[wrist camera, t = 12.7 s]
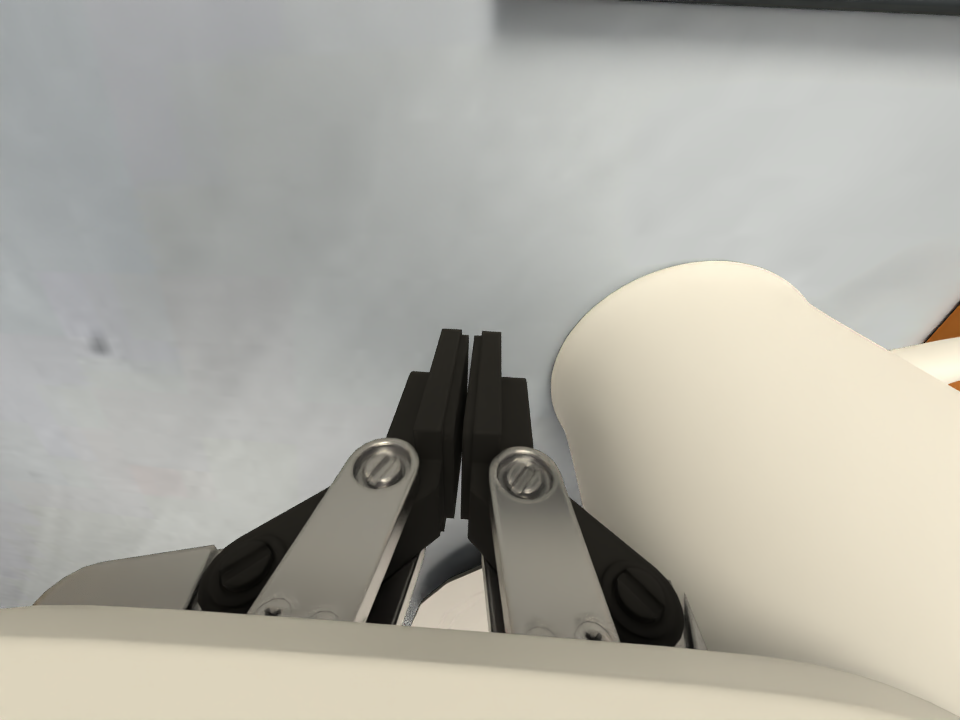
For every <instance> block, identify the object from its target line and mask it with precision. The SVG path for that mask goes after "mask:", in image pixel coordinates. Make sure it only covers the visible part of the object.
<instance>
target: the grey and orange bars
mask: <svg viewBox="0 0 960 720" xmlns="http://www.w3.org/2000/svg"><path fill="white" fill-rule="evenodd" d="M633 1H655V2H677V3H698V4H720V5H741V6H763V7H784V8H806V9H828V10H849V11H871V12H892V13H914V14H936V15H957V16H960V0H633ZM956 337H960V305H959V306H958V307H957V308H956V309H955V310H954V311H953V312H952V314H951V315H950V316H949V317H948V318H947V319H946V320H945V321H944V322H943V324H942V325H941V326H940V327H939V328H938V329H937V330H936V331H935V332H934V334H933V335H932V336H931V337H930V338H929V339H928V340H927V341H926V343H928V342H933V341H938V340H944V339H950V338H956ZM948 385H949V386H951V387H953V388H954V389H956V390H958V391H960V381H956V382H953V383H950V384H948Z"/></svg>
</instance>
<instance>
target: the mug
mask: <svg viewBox="0 0 960 720" xmlns="http://www.w3.org/2000/svg"><path fill="white" fill-rule="evenodd" d="M956 381H960V337H956V338H950V339H944V340H938V341H933V342H928V343H923V344H918V345H913V346H908V347H903V348H898V349H893V350H887V349H885V348H883V347H881V346H880V345H878V344H876V343H874V342H873V341H871V340H869V339H867V338H866V337H864V336H862V335H860V334H859V333H857V332H855V331H854V330H852V329H850V328H848V327H847V326H845V325H843V324H842V323H840V322H838V321H837V320H835V319H833V318H831V317H830V316H828V315H827V314H825V313H823V312H822V311H820V310H818V309H817V308H815V307H814V306H812V305H811V304H810V303H808V302H807V300H806V299H805V298H804V296H803V295H802V294H801V293H800V292H799V291H798V290H797V289H796V288H795V287H794V286H793V285H791V284H790V283H789V282H787V281H786V280H784V279H783V278H781V277H780V276H778V275H776V274H774V273H772V272H770V271H768V270H765V269H762V268H760V267H756V266H753V265H749V264H744V263H738V262H730V261H702V262H693V263H687V264H681V265H677V266H673V267H669V268H665V269H662V270H659V271H656V272H653V273H651V274H648V275H645V276H643V277H641V278H639V279H636V280H634V281H632V282H630V283H628V284H627V285H625V286H623V287H621V288H620V289H618V290H616V291H615V292H613V293H612V294H610V295H609V296H607V297H606V298H605V299H603V300H602V301H601V302H599V303H598V304H597V305H596V306H595V307H593V308H592V309H591V310H590V311H589V312H588V313H587V314H586V315H585V316H584V317H583V318H582V319H581V320H580V321H579V322H578V324H577V325H576V326H575V327H574V328H573V330H572V331H571V332H570V334H569V335H568V337H567V338H566V340H565V342H564V343H563V345H562V347H561V349H560V351H559V353H558V356H557V358H556V361H555V364H554V368H553V372H552V378H551V397H552V403H553V407H554V410H555V413H556V416H557V418H558V420H559V422H560V424H561V425H562V427H563V429H564V431H565V434H566V437H567V441H568V444H569V449H570V453H571V457H572V461H573V465H574V470H575V474H576V478H577V483H578V487H579V492H580V496H581V500H582V505H583V509H584V510H586V511H587V512H588V513H589V514H590V515H592V516H593V517H594V518H595V519H597V520H598V521H599V522H600V523H602V524H603V525H604V526H605V527H606V528H608V529H609V530H610V531H611V532H613V533H614V534H615V535H616V536H617V537H619V538H620V539H621V540H622V541H624V542H625V543H626V544H627V545H628V546H630V547H631V548H632V549H633V550H635V551H636V552H637V553H638V554H639V555H641V556H642V557H643V558H644V559H646V560H647V561H648V562H649V563H651V564H652V565H653V566H654V567H655V568H656V569H657V570H658V571H659V572H660V573H661V574H662V575H663V576H664V577H665V578H666V579H667V580H670V581H671V583H672V586H673V588H674V590H675V592H676V593H677V595H678V598H679V600H680V603H681V606H682V608H683V614H684V592H685V595H686V597H687V600H688V602H689V605H690V607H691V609H692V612H693V614H694V617H695V619H696V622H697V624H698V627H699V629H700V632H701V634H702V636H703V639H704V641H705V644H706V646H707V649H708V651H717V652H727V653H737V654H747V655H757V656H766V657H772V658H779V659H785V660H792V661H798V662H805V663H811V664H817V665H821V666H825V667H829V668H833V669H837V670H841V671H846V672H850V673H854V674H858V675H861V676H864V677H867V678H870V679H873V680H876V681H879V682H882V683H885V684H888V685H890V686H893V687H895V688H898V689H900V690H903V691H905V692H907V693H910V694H912V695H915V696H917V697H919V698H922V699H924V700H927V701H929V702H931V703H933V704H935V705H937V706H939V707H941V708H943V709H945V710H947V711H949V712H951V713H953V714H955V715H957V716H959V717H960V391H958V390H956V389H954V388H953V387H951V386H949V385H948V384H950V383H953V382H956Z"/></svg>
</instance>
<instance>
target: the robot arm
mask: <svg viewBox="0 0 960 720" xmlns="http://www.w3.org/2000/svg"><path fill="white" fill-rule="evenodd" d="M468 349H469V335H462V330H458V329H442V331H441V335H440V338H439V342H438V345H437V348H436V352H435V355H434V359H433V362H432V366H431V369H430V372H417V371H412V372H411V373H410V375H409V377H408V380H407V383H406V386H405V388H404V391H403V394H402V396H401V399H400V402H399V404H398V407H397V410H396V413H395V415H394V418H393V421H392V423H391V426H390V429H389V432H388V434H387V437H386V438H381V439H375V440H373V441H370V442H368V443H365V444H364V445H362V446H361V447H359V448H358V449H357V450H355V452H354V453H353V454H352V455H351V456H350V457H349V459H348V460H347V462H346V463H345V465H344V466H343V468H342V469H341V471H340V472H339V474H338V475H337V477H336V478H335V480H334V481H333V483H332V484H331V486H330V487H328V488H326V489H325V490H323V491H321V492H319V493H318V494H316V495H314V496H312V497H311V498H309V499H307V500H305V501H303V502H302V503H300V504H298V505H296V506H295V507H293V508H291V509H289V510H288V511H286V512H284V513H282V514H280V515H279V516H277V517H275V518H273V519H272V520H270V521H268V522H266V523H264V524H263V525H261V526H259V527H257V528H256V529H254V530H252V531H250V532H249V533H247V534H245V535H243V536H241V537H240V538H238V539H237V540H235V541H234V542H232V543H231V544H229V545H228V546H227V547H225V548H224V549H218V550H217V548H216V547H215V546H214V545H209V546H203V547H196V548H190V549H183V550H176V551H170V552H163V553H157V554H150V555H144V556H137V557H131V558H124V559H118V560H111V561H105V562H100V563H96V564H93V565H89V566H86V567H83V568H81V569H79V570H77V571H75V572H73V573H72V574H70V575H68V576H66V577H64V578H63V579H61V580H60V581H59V582H57V583H56V584H55V585H53V586H52V587H51V588H49V589H48V590H47V591H45V592H44V593H43V595H42V596H41V597H40V598H39V599H38V600H37V601H36V602H35V603H34V604H33V605H32V606H25V607H14V608H3V609H0V720H960V717H959V716H957V715H955V714H953V713H951V712H949V711H947V710H945V709H943V708H941V707H939V706H937V705H935V704H933V703H931V702H929V701H927V700H924V699H922V698H919V697H917V696H915V695H912V694H910V693H907V692H905V691H903V690H900V689H898V688H895V687H893V686H890V685H888V684H885V683H882V682H879V681H876V680H873V679H870V678H867V677H864V676H861V675H858V674H854V673H850V672H846V671H841V670H837V669H833V668H829V667H825V666H821V665H817V664H811V663H805V662H798V661H792V660H785V659H779V658H772V657H766V656H757V655H747V654H737V653H727V652H717V651H708V649H707V646H706V644H705V641H704V639H703V636H702V634H701V632H700V629H699V627H698V624H697V622H696V619H695V617H694V614H693V612H692V609H691V607H690V605H689V602H688V600H687V597H686V595H685V592H684V614H683V608H682V606H681V603H680V600H679V598H678V595H677V593H676V592H675V590H674V588H673V586H672V583H671V581H670V580H667V579H666V578H665V577H664V576H663V575H662V574H661V573H660V572H659V571H658V570H657V569H656V568H655V567H654V566H653V565H652V564H651V563H649V562H648V561H647V560H646V559H644V558H643V557H642V556H641V555H639V554H638V553H637V552H636V551H635V550H633V549H632V548H631V547H630V546H628V545H627V544H626V543H625V542H624V541H622V540H621V539H620V538H619V537H617V536H616V535H615V534H614V533H613V532H611V531H610V530H609V529H608V528H606V527H605V526H604V525H603V524H602V523H600V522H599V521H598V520H597V519H595V518H594V517H593V516H592V515H590V514H589V513H588V512H587V511H586V510H584V509H583V508H582V507H581V506H579V505H578V504H577V503H576V502H575V501H573V500H572V499H571V498H570V497H569V496H568V493H567V490H566V487H565V484H564V482H563V479H562V476H561V473H560V471H559V469H558V467H557V465H556V464H555V462H554V461H553V460H552V459H551V458H550V457H549V456H547V455H546V454H544V453H542V452H541V451H539V450H536V449H534V448H533V438H532V429H531V419H530V409H529V400H528V390H527V382H526V379H525V378H511V377H501V332H491V331H482V336H474V343H473V352H472V360H471V368H470V376H469V384H468ZM467 384H468V392H467ZM461 456H462V480H461V519H468V539H469V540H470V541H471V542H472V543H473V545H474V546H475V547H476V548H477V549H478V550H479V551H480V553H481V554H482V558H481V561H482V571H483V581H484V591H485V601H486V611H487V621H488V631H489V632H480V631H467V630H454V629H441V628H427V627H414V626H402V624H403V621H404V618H405V615H406V612H407V609H408V606H409V603H410V600H411V596H412V593H413V590H414V587H415V584H416V581H417V578H418V575H419V572H420V569H421V566H422V563H423V560H424V557H425V551H426V547H427V546H428V545H429V544H430V543H432V542H433V541H434V540H435V539H437V538H438V537H439V536H440V532H441V531H443V532H444V529H445V522H446V518H454V515H455V507H456V498H457V490H458V482H459V473H460V465H461Z"/></svg>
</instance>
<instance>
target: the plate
mask: <svg viewBox="0 0 960 720" xmlns="http://www.w3.org/2000/svg"><path fill="white" fill-rule="evenodd" d="M411 625H412V626H414V627H427V628H441V629H454V630H467V631H480V632H489V631H488V621H487V611H486V601H485V591H484V581H483V571H482V565H480V566H477V567H475V568H473V569H470V570H468V571H466V572H463V573H461V574H459V575H456V576H454V577H452V578H450V579H448V580H447V581H446V582H444V583H443V584H442V585H441V586H439V587H438V588H437V589H436V590H434V591H433V592H432V593H431V594H429V595H428V596H427V597H426V598H424V599H423V600H422V601H421V603H420V606H419V608H418V610H417V612H416V614H415V616H414V618H413V621H412V624H411Z"/></svg>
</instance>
